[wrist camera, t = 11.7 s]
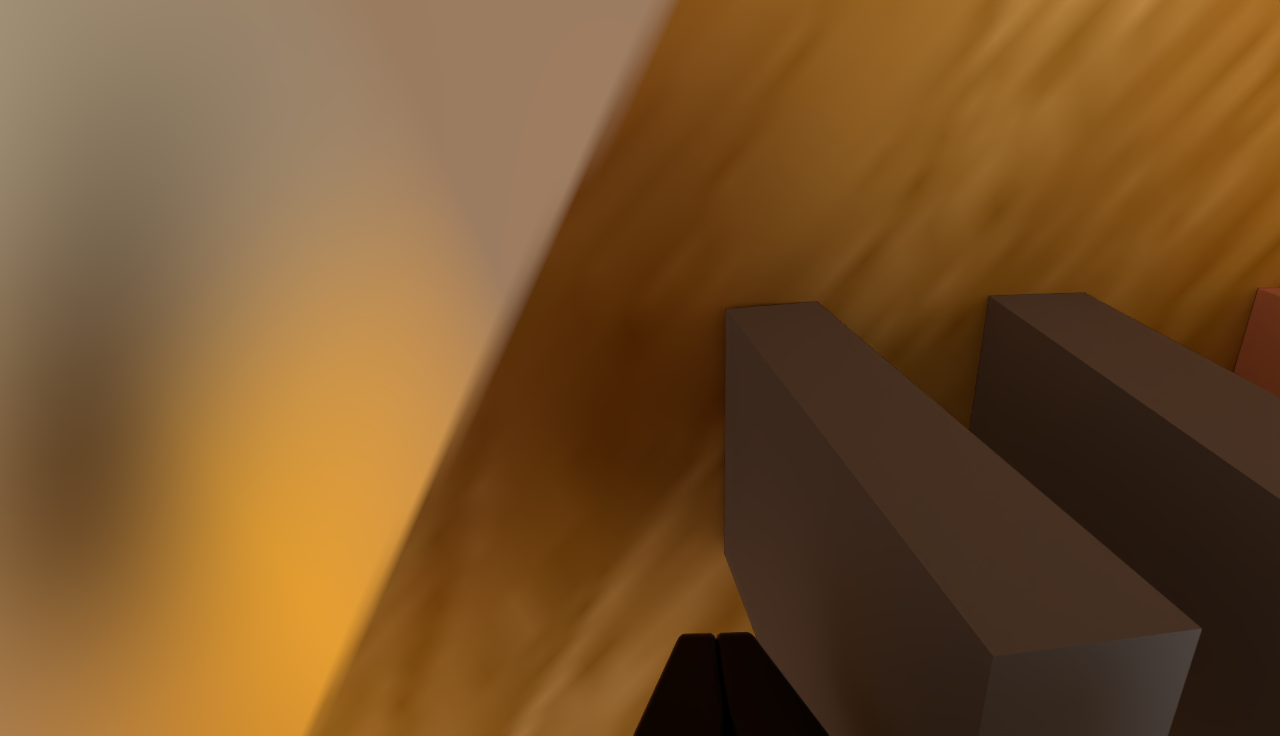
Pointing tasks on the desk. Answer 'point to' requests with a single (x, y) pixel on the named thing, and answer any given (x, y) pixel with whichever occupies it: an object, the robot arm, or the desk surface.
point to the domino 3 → (1262, 343)
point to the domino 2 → (1152, 479)
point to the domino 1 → (921, 557)
